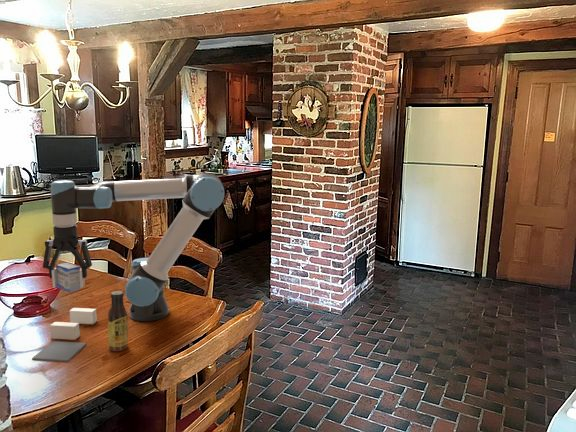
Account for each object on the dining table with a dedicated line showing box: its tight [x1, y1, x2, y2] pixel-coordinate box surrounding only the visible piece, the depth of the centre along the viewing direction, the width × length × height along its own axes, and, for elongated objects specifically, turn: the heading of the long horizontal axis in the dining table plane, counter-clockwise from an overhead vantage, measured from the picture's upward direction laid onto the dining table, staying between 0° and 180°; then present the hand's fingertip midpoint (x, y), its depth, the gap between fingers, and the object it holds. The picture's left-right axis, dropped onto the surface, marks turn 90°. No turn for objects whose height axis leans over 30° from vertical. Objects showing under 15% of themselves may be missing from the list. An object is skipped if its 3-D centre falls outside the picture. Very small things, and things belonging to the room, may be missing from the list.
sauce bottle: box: [107, 290, 129, 352], centre depth 159 cm, size 6×6×20 cm
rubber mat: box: [31, 340, 87, 363], centre depth 158 cm, size 12×12×1 cm
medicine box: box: [55, 262, 82, 293], centre depth 168 cm, size 8×4×9 cm, turn 57°
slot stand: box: [49, 307, 98, 341], centre depth 174 cm, size 9×16×5 cm, turn 176°
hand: (69, 286), depth 169 cm, fingers closed on medicine box, 9 cm apart
